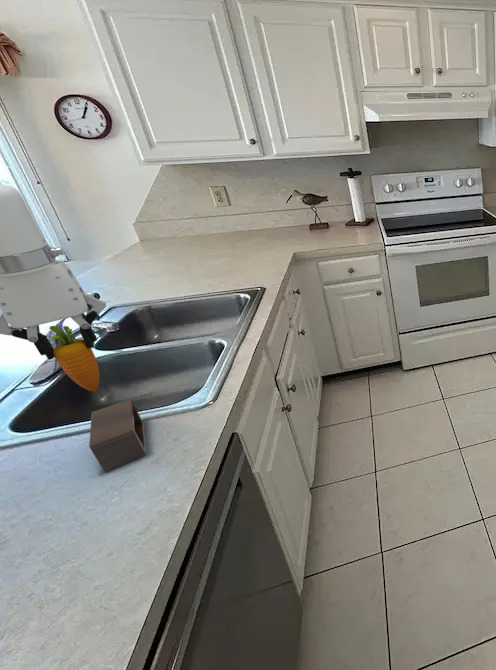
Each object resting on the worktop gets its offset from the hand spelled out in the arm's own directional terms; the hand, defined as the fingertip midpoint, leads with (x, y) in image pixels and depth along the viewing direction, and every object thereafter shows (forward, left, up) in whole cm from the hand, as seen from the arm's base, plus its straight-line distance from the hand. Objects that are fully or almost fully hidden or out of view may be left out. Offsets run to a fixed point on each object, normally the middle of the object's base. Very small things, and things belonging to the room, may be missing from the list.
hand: (71, 349), depth 78 cm
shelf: (0, 0, -24) cm, 24 cm away
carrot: (0, 0, -10) cm, 10 cm away
